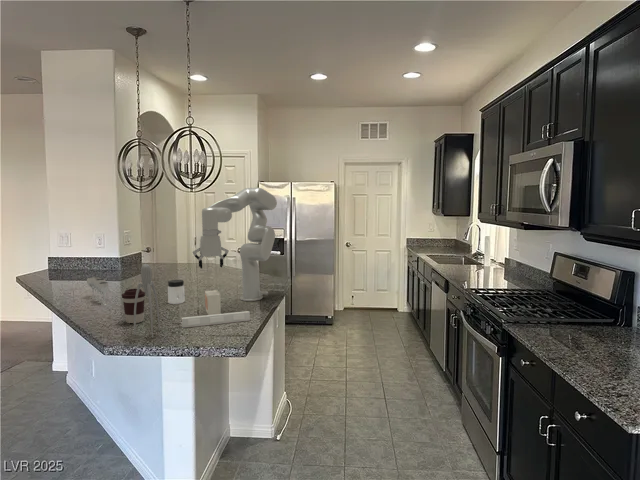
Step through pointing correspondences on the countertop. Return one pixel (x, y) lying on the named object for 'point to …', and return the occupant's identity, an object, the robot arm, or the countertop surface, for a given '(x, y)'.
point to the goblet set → (98, 287)
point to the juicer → (146, 284)
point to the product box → (212, 302)
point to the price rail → (215, 319)
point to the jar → (176, 292)
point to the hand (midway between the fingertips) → (211, 267)
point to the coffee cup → (129, 305)
